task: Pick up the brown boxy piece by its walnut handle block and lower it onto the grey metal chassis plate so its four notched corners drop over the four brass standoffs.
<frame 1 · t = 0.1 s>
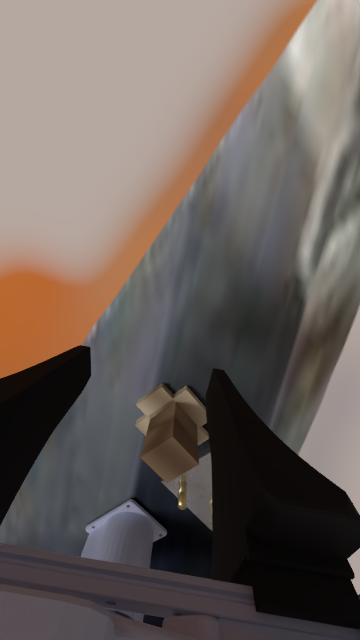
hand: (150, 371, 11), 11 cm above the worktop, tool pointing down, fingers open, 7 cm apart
brown boxy piece: (173, 416, 25), on the worktop
chassis: (216, 482, 27), on the worktop
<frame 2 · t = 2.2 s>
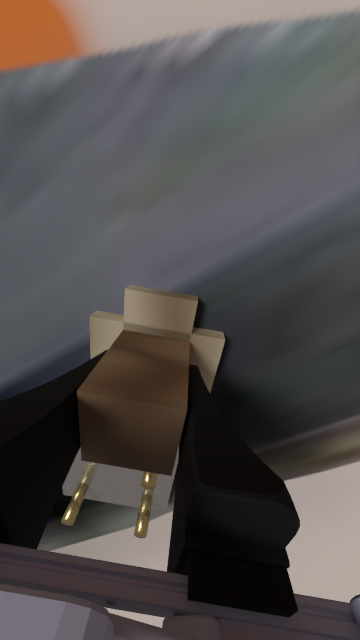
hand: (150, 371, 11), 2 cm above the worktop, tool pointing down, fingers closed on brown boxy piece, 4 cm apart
brown boxy piece: (155, 354, 13), on the worktop, touching gripper
chassis: (120, 456, 18), on the worktop
when the fingers open (4 cm above the worktop, at t = 6.3 s): brown boxy piece drops 1 cm, resting on chassis.
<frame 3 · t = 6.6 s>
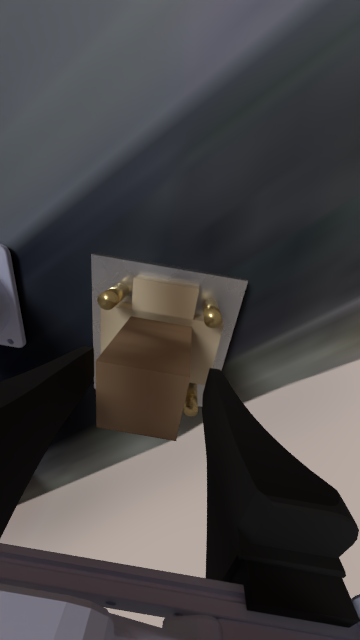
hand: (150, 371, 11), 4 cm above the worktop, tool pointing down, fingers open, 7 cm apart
brown boxy piece: (160, 340, 15), point 1 cm above the worktop, touching chassis
chassis: (161, 336, 16), on the worktop
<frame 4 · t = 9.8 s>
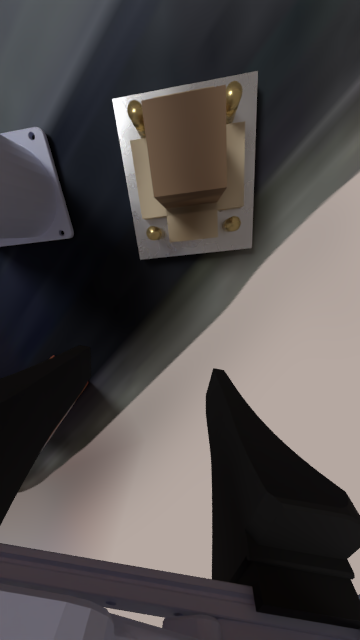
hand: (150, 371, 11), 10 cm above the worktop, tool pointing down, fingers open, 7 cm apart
brown boxy piece: (189, 178, 16), point 1 cm above the worktop, touching chassis
chassis: (189, 184, 17), on the worktop
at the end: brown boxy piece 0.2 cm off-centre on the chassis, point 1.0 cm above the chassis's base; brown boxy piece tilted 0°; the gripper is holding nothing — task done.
